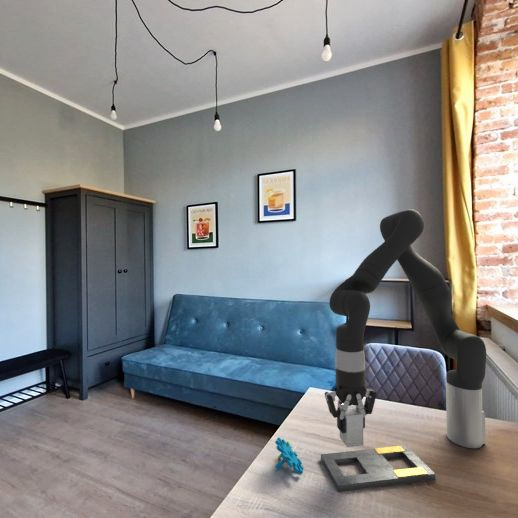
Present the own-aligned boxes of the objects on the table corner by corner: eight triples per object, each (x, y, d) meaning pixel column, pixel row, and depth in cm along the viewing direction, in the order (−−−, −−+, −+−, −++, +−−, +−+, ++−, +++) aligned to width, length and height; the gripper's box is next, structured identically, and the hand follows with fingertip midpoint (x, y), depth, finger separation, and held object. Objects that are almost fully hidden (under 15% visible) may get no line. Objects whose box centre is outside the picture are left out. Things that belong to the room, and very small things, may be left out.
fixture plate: (405, 450, 89) (405, 444, 89) (435, 479, 78) (435, 472, 78) (320, 459, 86) (320, 453, 86) (338, 491, 74) (338, 484, 74)
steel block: (355, 435, 83) (354, 406, 83) (363, 445, 79) (363, 414, 79) (339, 437, 82) (339, 407, 82) (346, 447, 78) (346, 415, 78)
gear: (306, 478, 76) (278, 446, 78) (290, 495, 76) (261, 463, 78) (304, 456, 87) (279, 428, 89) (289, 471, 87) (264, 443, 88)
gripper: (368, 359, 85) (369, 420, 85) (319, 362, 83) (320, 425, 83) (383, 368, 78) (384, 435, 78) (329, 372, 76) (330, 441, 76)
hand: (351, 430), depth 80 cm, fingers closed on steel block, 4 cm apart
